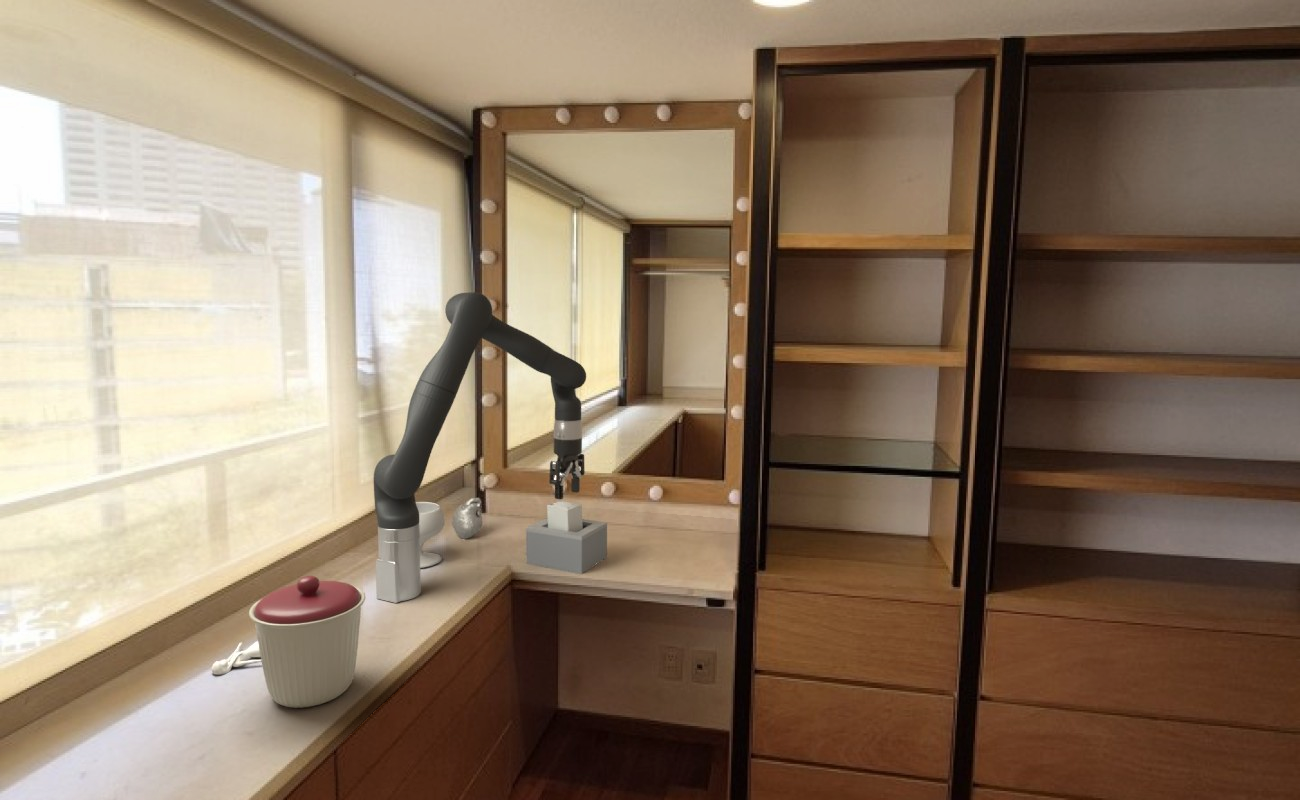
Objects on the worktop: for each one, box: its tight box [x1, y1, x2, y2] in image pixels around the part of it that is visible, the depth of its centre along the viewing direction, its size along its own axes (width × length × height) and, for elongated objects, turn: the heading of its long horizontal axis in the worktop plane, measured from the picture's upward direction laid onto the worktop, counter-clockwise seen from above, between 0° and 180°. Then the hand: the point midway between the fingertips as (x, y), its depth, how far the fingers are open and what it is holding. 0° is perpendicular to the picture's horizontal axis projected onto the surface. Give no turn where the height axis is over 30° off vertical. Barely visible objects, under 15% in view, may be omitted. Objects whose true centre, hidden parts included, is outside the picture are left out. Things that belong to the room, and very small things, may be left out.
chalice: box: [415, 501, 445, 569], centre depth 189 cm, size 14×14×15 cm
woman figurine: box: [210, 640, 262, 676], centre depth 137 cm, size 12×4×18 cm
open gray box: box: [525, 517, 608, 575], centre depth 192 cm, size 14×17×10 cm
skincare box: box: [546, 500, 583, 532], centre depth 192 cm, size 8×6×15 cm
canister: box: [248, 575, 366, 709], centre depth 123 cm, size 18×18×21 cm
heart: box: [451, 497, 483, 540], centre depth 212 cm, size 10×10×12 cm
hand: (567, 495), depth 191 cm, fingers open, 8 cm apart
